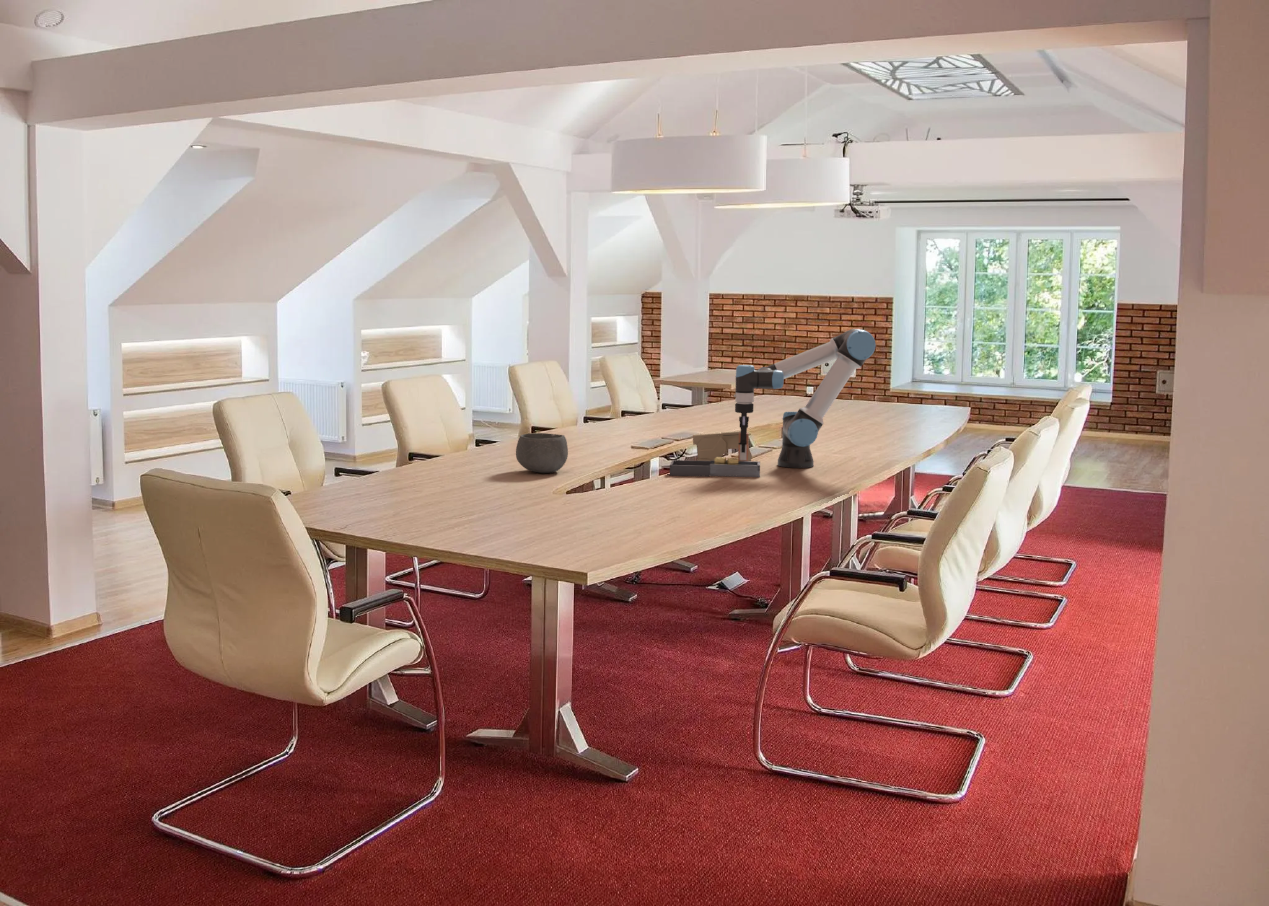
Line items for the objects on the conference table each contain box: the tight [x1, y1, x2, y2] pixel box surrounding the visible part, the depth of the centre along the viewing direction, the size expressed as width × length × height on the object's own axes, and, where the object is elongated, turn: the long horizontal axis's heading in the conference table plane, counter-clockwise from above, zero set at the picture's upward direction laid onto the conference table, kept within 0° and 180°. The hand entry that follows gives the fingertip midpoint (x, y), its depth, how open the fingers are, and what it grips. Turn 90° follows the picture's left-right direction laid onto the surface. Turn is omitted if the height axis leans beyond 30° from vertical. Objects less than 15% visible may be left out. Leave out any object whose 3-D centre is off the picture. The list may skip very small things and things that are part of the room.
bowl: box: [515, 432, 569, 474], centre depth 494 cm, size 21×21×15 cm
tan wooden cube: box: [715, 456, 727, 464], centre depth 493 cm, size 4×4×4 cm
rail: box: [710, 460, 761, 478], centre depth 492 cm, size 20×10×5 cm, turn 84°
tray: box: [669, 459, 711, 478], centre depth 494 cm, size 16×14×4 cm
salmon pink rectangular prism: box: [737, 432, 750, 461], centre depth 502 cm, size 4×7×16 cm, turn 174°
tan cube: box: [726, 457, 738, 465], centre depth 492 cm, size 4×4×4 cm
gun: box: [692, 430, 753, 461], centre depth 515 cm, size 24×3×15 cm, turn 84°
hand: (743, 459), depth 503 cm, fingers closed on salmon pink rectangular prism, 4 cm apart
